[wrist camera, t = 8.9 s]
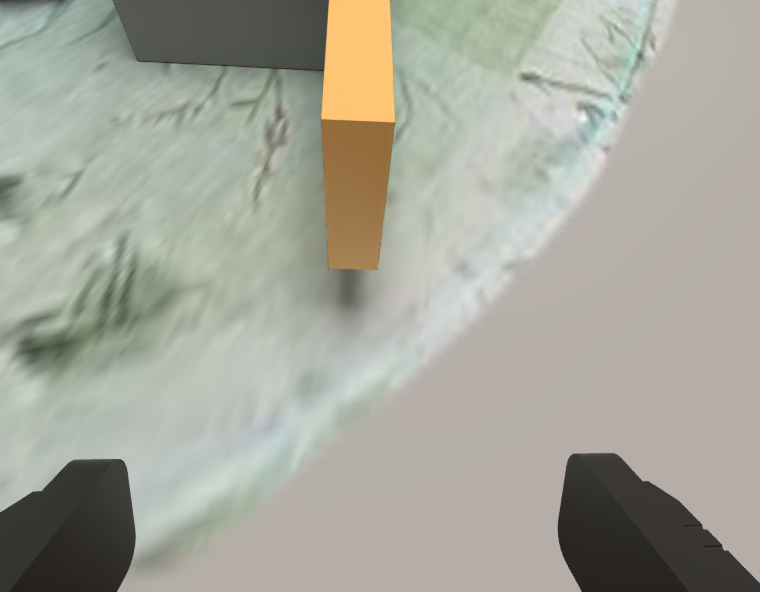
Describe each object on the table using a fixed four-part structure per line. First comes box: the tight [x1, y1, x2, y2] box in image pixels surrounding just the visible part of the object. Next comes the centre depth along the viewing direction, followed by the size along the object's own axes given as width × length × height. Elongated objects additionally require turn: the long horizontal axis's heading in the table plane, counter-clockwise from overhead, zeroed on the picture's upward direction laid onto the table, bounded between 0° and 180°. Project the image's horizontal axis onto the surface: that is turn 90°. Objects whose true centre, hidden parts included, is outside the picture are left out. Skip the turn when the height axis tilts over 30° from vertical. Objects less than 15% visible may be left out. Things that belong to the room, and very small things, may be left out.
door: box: [321, 0, 395, 270], centre depth 17 cm, size 2×17×9 cm, turn 1°
